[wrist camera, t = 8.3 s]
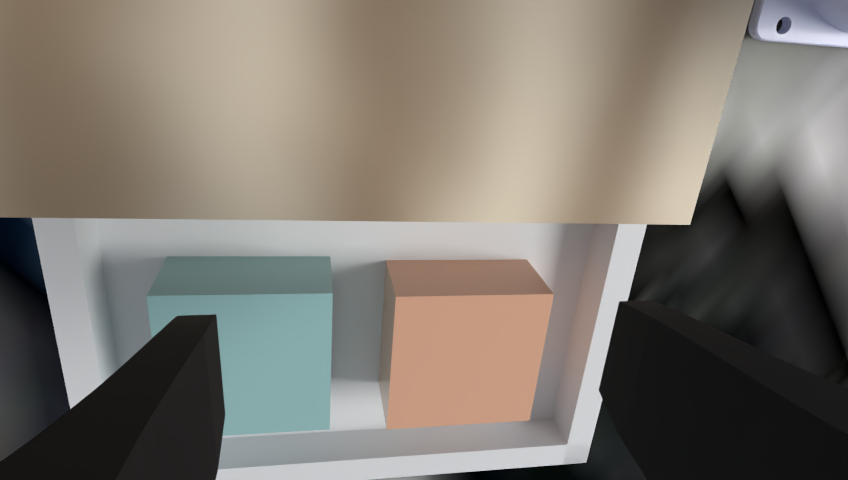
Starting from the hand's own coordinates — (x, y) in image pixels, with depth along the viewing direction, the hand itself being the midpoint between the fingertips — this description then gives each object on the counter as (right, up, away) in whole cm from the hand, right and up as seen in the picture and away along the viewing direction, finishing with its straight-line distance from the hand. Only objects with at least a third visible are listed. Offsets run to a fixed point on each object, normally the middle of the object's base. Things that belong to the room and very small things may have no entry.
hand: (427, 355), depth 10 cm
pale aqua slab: (-5, -2, +7) cm, 9 cm away
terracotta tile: (+1, -2, +8) cm, 8 cm away
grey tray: (-2, -1, +10) cm, 11 cm away
